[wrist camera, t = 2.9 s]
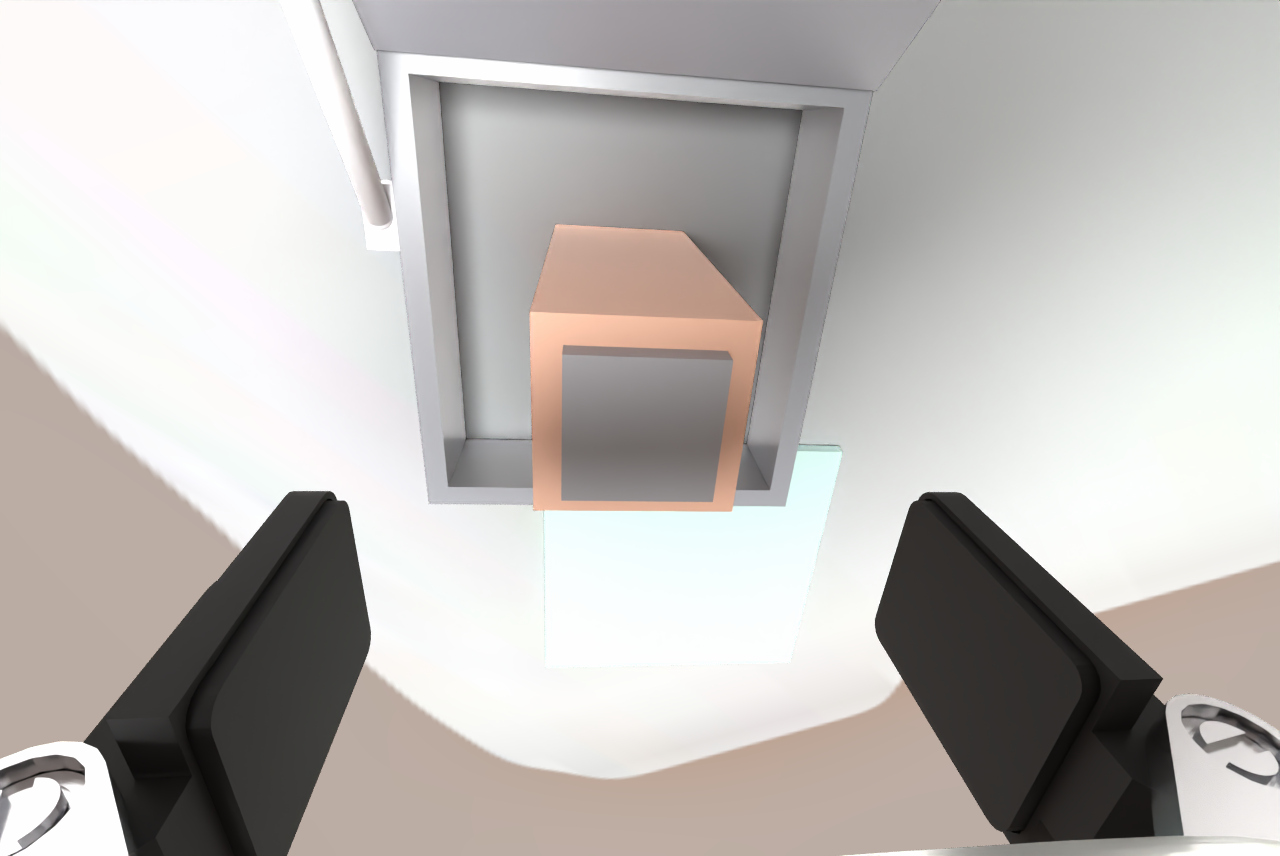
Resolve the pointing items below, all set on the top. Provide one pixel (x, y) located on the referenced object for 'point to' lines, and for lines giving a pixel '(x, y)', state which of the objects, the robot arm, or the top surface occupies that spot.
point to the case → (622, 66)
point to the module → (637, 374)
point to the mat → (686, 578)
